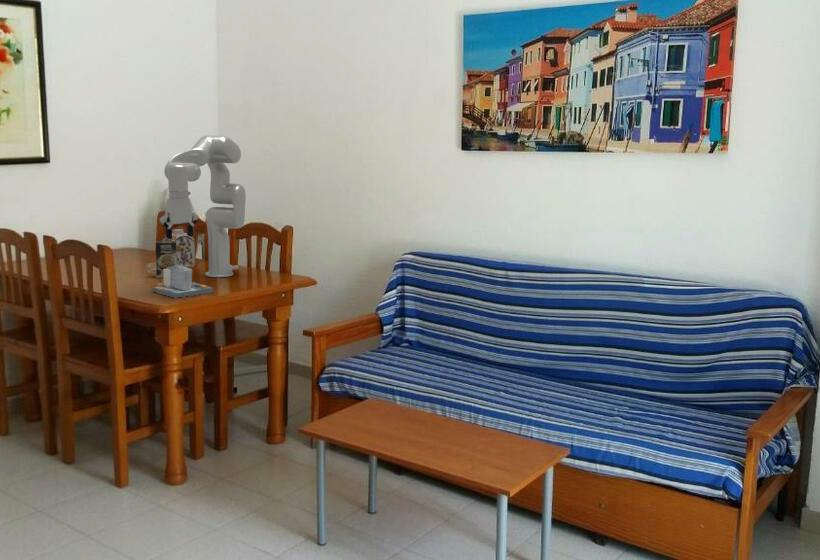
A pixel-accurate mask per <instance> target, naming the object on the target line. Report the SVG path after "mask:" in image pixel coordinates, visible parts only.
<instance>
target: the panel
mask: <svg viewBox="0 0 820 560" xmlns="http://www.w3.org/2000/svg"><path fill="white" fill-rule="evenodd" d="M151 291H152V293H154V292H156V293H155V294H158V293H159V294H158V295H161V294H163V295H162V296H164V295H166V296H165V297H168V296H170V297H169V298H171V297H173V298H172V299H179V298H178V297H182V298H187V297H186V296H188V297H194V295H195V296H200V295H199V294H201V295H206V294H211V293H212V294H213V293H214V288H213V287H211V286H208V285H206V284H201V283H197V282H194V281H193V282H192V284H191V289H190V290H186V291H183V290H180V289H177V288H175V287H172V286H164V282H159V283H157V286H152V288H151Z"/></svg>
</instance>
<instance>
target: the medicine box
mask: <svg viewBox="0 0 820 560" xmlns="http://www.w3.org/2000/svg"><path fill="white" fill-rule="evenodd" d="M192 280H193V269H192V268H191V267H184V266H181V265H175V266H172V267H171V280H170V286H172V287H175V288H177V289H180V290H183V291H186V290H190V289H191V284H192Z"/></svg>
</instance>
